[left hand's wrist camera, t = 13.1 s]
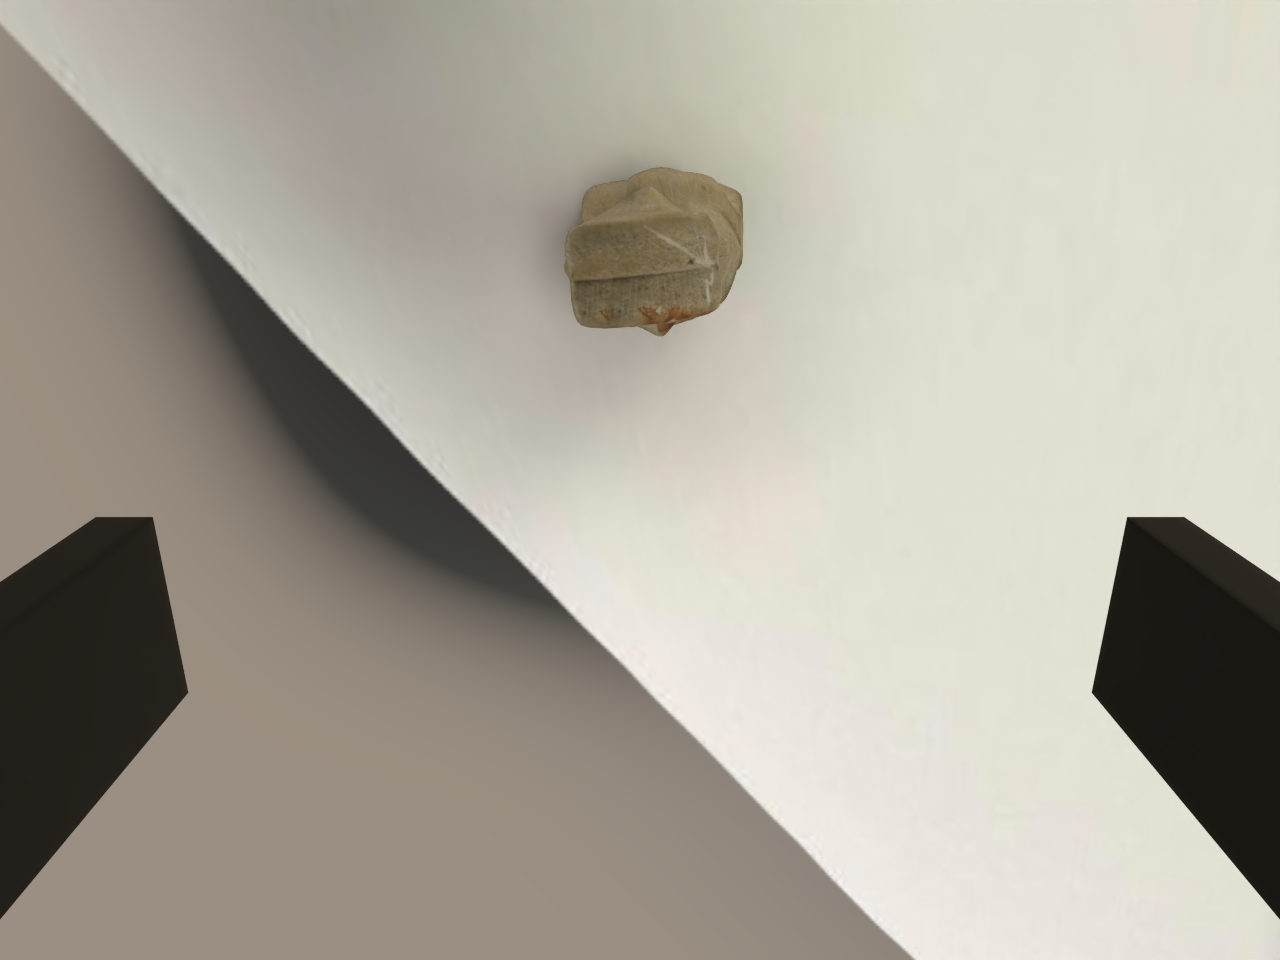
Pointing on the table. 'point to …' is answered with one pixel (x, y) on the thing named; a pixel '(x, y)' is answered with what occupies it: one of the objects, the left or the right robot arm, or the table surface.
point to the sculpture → (654, 250)
